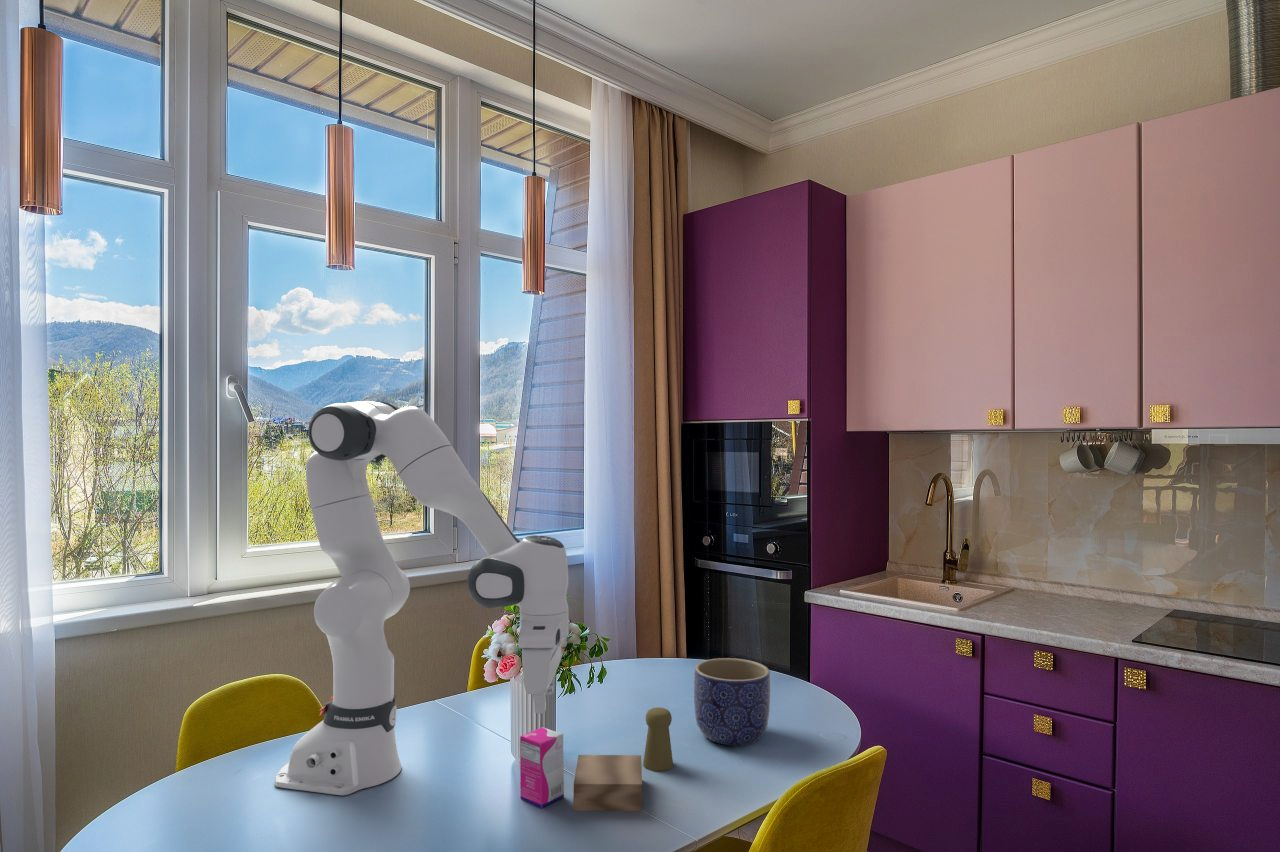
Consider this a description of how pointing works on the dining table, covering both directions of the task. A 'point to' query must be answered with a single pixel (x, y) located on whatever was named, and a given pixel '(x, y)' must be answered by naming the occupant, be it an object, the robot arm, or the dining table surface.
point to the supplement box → (541, 767)
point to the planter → (732, 700)
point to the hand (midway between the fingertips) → (544, 702)
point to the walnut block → (608, 783)
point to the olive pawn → (658, 740)
